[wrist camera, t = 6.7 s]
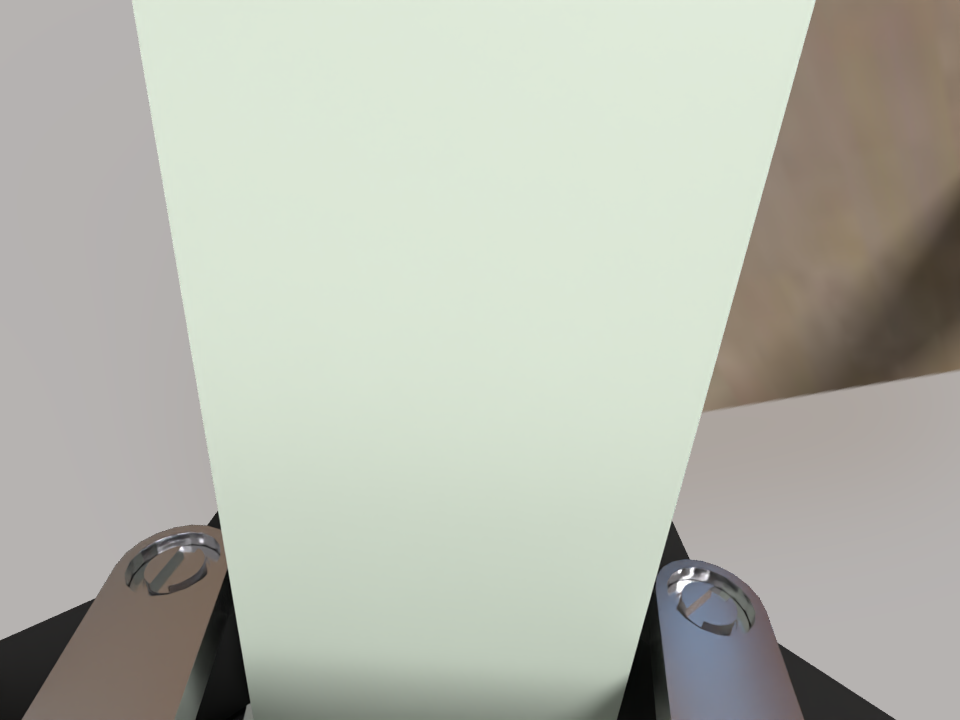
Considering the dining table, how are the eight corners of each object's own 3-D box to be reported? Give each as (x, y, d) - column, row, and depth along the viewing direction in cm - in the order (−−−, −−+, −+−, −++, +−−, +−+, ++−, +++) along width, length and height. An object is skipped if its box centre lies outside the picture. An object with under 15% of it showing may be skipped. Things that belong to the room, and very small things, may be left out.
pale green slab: (542, 80, 21) (892, -277, 3) (506, 424, 27) (532, 1023, 9) (442, 73, 21) (73, -347, 3) (430, 419, 27) (302, 1007, 9)
